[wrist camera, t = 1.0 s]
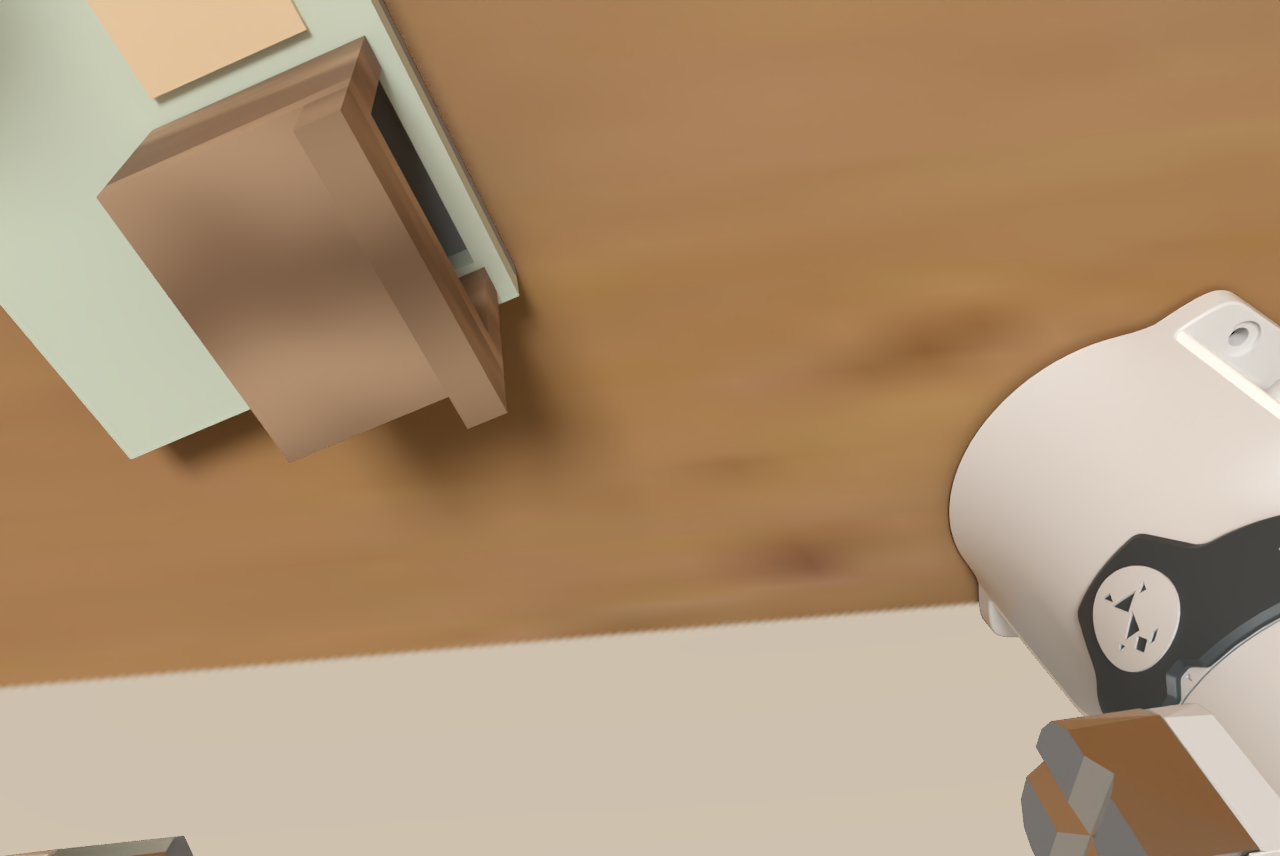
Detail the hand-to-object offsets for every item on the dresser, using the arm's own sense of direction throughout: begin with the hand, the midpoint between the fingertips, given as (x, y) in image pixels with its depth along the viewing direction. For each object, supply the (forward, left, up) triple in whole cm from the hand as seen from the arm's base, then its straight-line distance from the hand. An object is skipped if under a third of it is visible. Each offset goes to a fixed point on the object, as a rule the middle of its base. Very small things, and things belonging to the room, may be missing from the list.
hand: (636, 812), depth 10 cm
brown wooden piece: (+4, +5, -26) cm, 27 cm away
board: (+9, +6, -29) cm, 30 cm away
